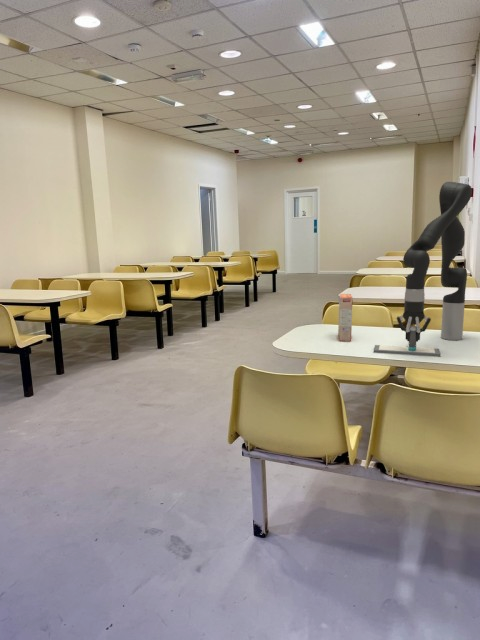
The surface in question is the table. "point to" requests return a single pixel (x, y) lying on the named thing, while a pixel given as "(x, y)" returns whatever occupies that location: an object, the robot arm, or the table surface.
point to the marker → (412, 338)
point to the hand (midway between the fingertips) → (412, 340)
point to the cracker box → (345, 317)
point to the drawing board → (406, 350)
